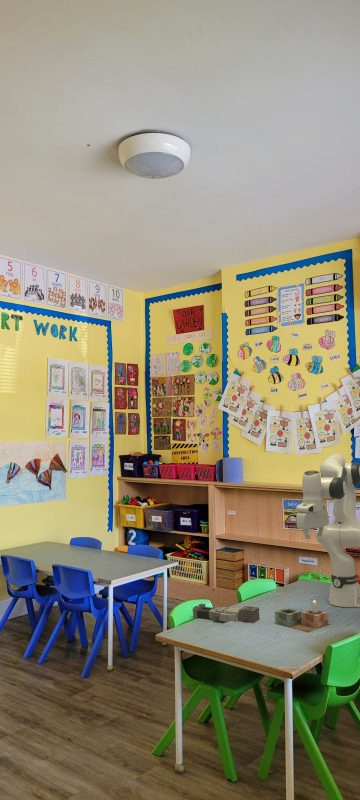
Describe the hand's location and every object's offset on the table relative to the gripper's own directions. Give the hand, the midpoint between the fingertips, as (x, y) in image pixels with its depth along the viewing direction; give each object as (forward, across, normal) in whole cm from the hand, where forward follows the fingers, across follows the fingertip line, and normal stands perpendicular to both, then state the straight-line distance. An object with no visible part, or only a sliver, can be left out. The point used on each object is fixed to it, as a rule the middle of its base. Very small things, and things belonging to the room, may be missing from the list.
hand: (313, 537), depth 258 cm
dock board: (+37, +11, 0) cm, 39 cm away
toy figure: (+38, +26, -31) cm, 55 cm away
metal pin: (+36, +7, +4) cm, 37 cm away
